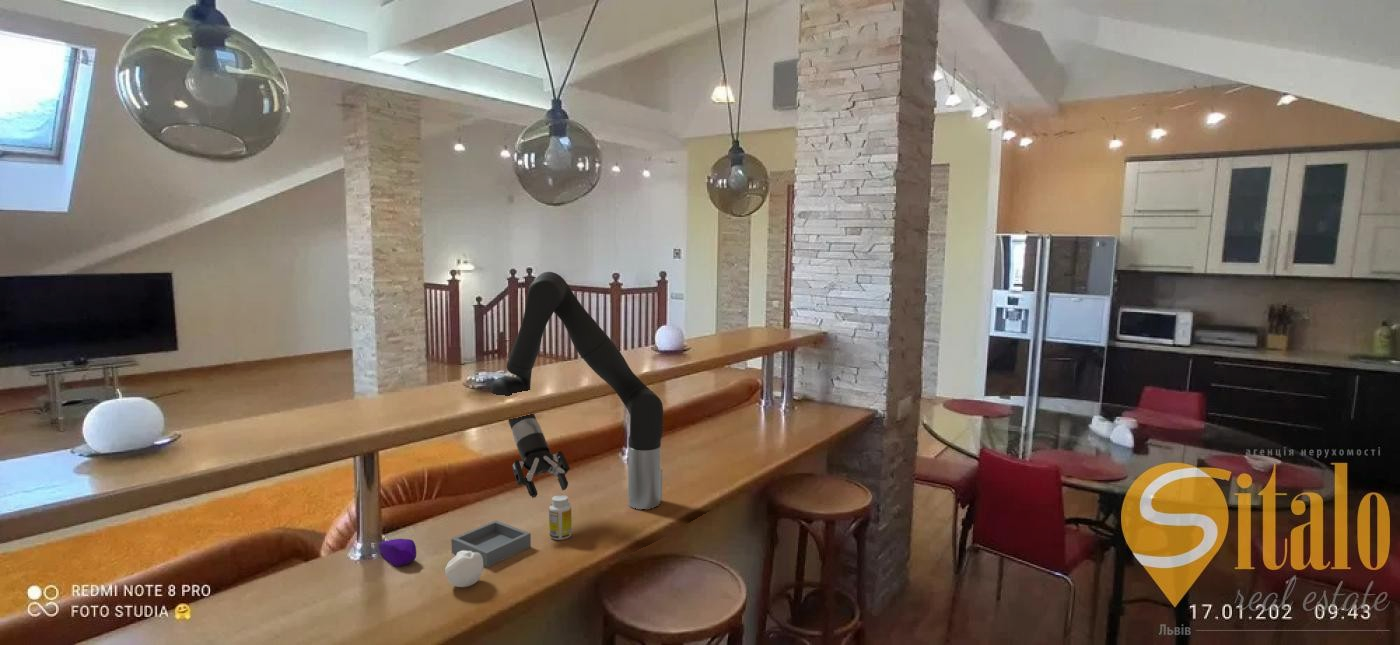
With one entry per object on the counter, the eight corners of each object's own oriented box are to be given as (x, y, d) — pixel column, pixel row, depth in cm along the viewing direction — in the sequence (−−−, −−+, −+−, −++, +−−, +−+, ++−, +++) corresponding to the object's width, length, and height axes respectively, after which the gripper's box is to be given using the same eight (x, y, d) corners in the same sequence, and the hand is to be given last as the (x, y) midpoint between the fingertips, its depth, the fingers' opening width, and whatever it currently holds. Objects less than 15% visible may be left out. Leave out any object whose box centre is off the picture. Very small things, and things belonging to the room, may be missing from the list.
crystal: (387, 531, 158) (422, 541, 149) (389, 550, 158) (424, 562, 150) (368, 538, 154) (402, 549, 146) (370, 558, 154) (404, 570, 146)
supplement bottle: (572, 531, 168) (572, 493, 167) (570, 540, 163) (570, 501, 162) (550, 531, 168) (550, 493, 167) (547, 541, 162) (547, 502, 161)
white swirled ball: (472, 572, 146) (471, 539, 145) (491, 583, 141) (491, 550, 141) (439, 586, 140) (438, 552, 139) (457, 598, 135) (456, 563, 134)
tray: (496, 533, 166) (495, 520, 166) (530, 546, 159) (530, 533, 159) (451, 552, 156) (451, 538, 155) (486, 567, 148) (486, 553, 148)
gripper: (508, 436, 168) (529, 491, 161) (558, 427, 178) (579, 479, 170) (500, 451, 173) (520, 505, 166) (549, 441, 182) (569, 493, 175)
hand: (550, 492), depth 168 cm, fingers open, 8 cm apart
